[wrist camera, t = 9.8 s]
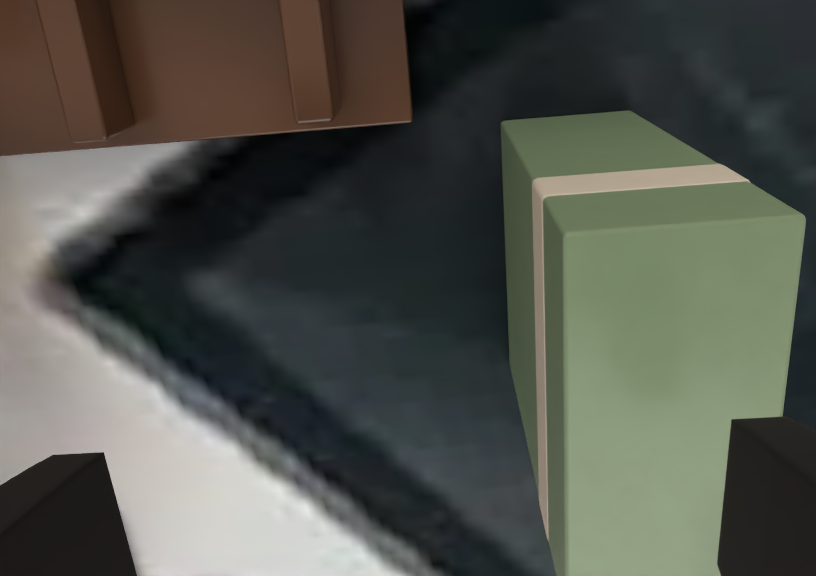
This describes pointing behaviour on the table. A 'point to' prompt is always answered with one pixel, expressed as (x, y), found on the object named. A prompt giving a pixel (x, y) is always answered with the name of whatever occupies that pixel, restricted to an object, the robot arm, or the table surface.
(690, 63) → the table surface
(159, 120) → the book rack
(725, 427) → the green book
